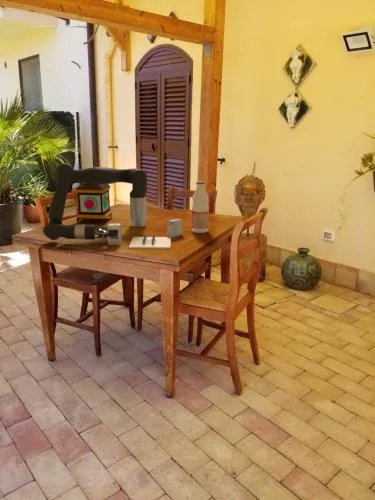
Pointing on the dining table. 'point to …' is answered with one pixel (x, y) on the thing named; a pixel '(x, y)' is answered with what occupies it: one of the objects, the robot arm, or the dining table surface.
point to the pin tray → (150, 242)
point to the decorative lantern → (93, 202)
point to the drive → (117, 229)
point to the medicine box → (174, 228)
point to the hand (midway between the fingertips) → (117, 232)
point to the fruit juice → (200, 209)
